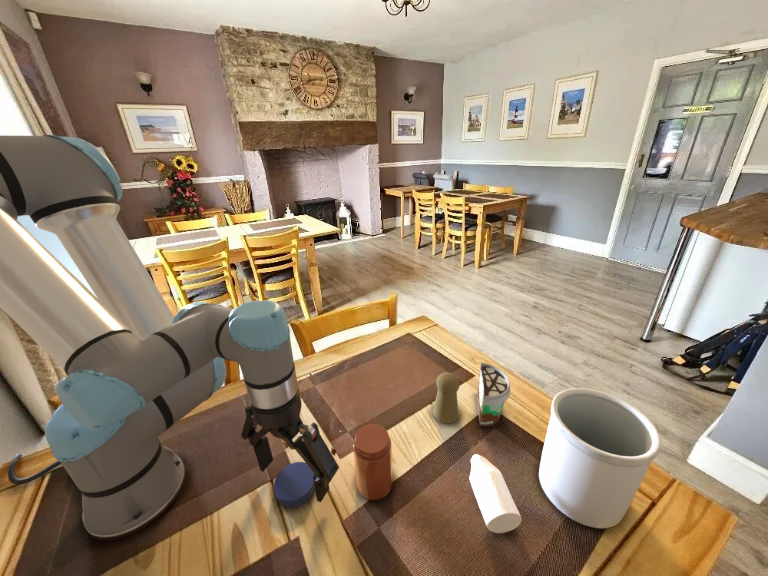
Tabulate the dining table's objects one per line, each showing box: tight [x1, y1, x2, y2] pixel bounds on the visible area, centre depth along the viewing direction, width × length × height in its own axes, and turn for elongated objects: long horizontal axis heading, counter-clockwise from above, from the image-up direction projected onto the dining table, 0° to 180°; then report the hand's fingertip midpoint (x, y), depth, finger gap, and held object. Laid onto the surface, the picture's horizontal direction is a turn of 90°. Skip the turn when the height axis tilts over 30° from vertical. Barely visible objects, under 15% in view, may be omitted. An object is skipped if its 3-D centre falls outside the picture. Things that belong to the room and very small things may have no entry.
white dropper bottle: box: [468, 453, 523, 534], centre depth 56 cm, size 6×12×6 cm, turn 6°
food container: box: [476, 362, 511, 428], centre depth 72 cm, size 12×6×10 cm, turn 168°
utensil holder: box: [538, 387, 662, 529], centre depth 54 cm, size 15×15×18 cm
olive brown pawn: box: [432, 371, 461, 424], centre depth 72 cm, size 6×6×11 cm
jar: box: [352, 423, 393, 501], centre depth 57 cm, size 7×7×12 cm
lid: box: [273, 461, 315, 508], centre depth 59 cm, size 8×8×2 cm
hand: (293, 479), depth 59 cm, fingers open, 13 cm apart
